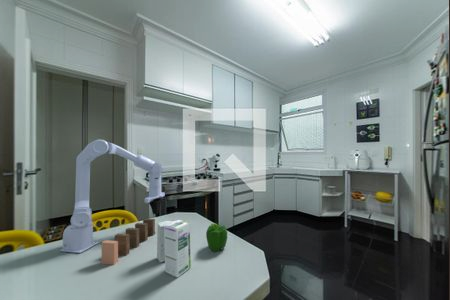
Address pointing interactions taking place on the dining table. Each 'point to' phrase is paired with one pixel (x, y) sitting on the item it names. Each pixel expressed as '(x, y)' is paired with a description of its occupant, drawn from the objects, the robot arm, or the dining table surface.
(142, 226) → the domino
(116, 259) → the domino
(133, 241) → the domino
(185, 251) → the syrup box
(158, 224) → the skincare box
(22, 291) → the dining table surface
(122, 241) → the domino
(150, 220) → the domino
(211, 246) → the bell pepper
